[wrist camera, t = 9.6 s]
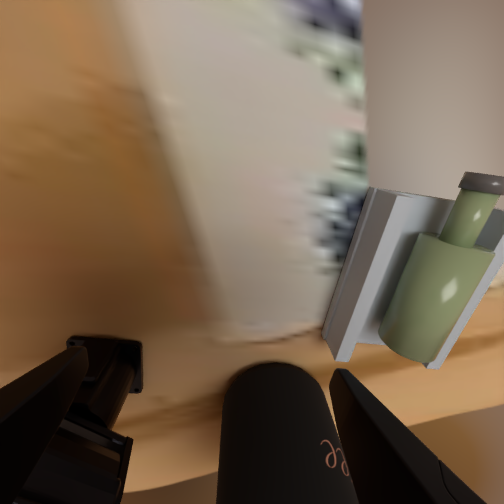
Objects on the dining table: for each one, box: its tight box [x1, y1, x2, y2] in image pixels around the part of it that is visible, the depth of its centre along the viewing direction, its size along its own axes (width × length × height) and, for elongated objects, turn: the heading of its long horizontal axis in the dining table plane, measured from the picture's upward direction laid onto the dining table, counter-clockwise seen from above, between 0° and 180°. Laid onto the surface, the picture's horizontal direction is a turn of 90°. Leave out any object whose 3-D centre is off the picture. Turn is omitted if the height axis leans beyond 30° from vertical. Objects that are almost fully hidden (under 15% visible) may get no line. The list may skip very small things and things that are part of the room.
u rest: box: [321, 187, 504, 369], centre depth 20 cm, size 14×10×3 cm
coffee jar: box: [216, 363, 359, 504], centre depth 19 cm, size 11×11×18 cm
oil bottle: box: [378, 172, 504, 363], centre depth 18 cm, size 14×4×4 cm, turn 172°
